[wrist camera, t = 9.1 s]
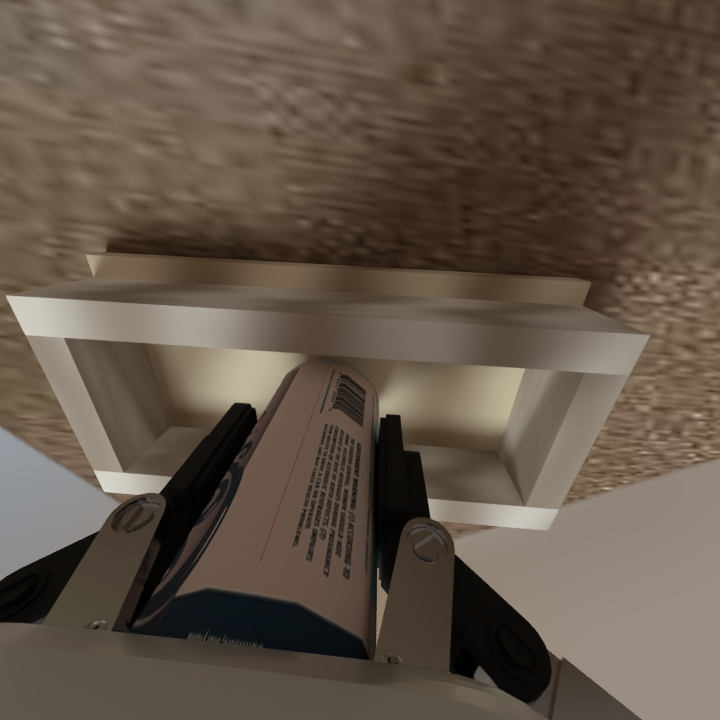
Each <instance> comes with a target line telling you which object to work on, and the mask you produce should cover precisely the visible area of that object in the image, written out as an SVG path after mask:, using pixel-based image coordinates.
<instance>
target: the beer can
mask: <svg viewBox="0 0 720 720" xmlns="http://www.w3.org/2000/svg"><path fill="white" fill-rule="evenodd" d="M378 438H379V399H378V396H377V392H376V390H375V388H374V386H373V384H372V383H371V382H370V380H369V379H368V378H367V377H366V376H365V375H363V374H362V373H361V372H360V371H359V370H357V369H356V368H354V367H352V366H350V365H348V364H346V363H342V362H339V361H334V360H313V361H309V362H305V363H303V364H301V365H298V366H296V367H295V368H294V369H292V370H291V371H290V372H288V373H287V374H286V376H285V377H284V378H283V380H282V382H281V384H280V386H279V387H278V389H277V391H276V392H275V394H274V396H273V397H272V399H271V401H270V402H269V404H268V406H267V407H266V409H265V410H264V412H263V414H262V415H261V417H260V419H259V420H258V422H257V424H256V425H255V427H254V428H253V430H252V432H251V433H250V435H249V437H248V438H247V440H246V442H245V443H244V445H243V447H242V448H241V450H240V451H239V453H238V455H237V456H236V458H235V460H234V461H233V463H232V465H231V466H230V468H229V469H228V471H227V473H226V474H225V476H224V478H223V479H222V481H221V483H220V484H219V486H218V488H217V489H216V491H215V492H214V494H213V496H212V497H211V499H210V501H209V502H208V504H207V506H206V507H205V509H204V511H203V512H202V514H201V515H200V517H199V519H198V520H197V522H196V524H195V525H194V527H193V529H192V530H191V532H190V533H189V535H188V537H187V538H186V540H185V542H184V543H183V545H182V547H181V548H180V550H179V552H178V553H177V555H176V556H175V558H174V560H173V561H172V563H171V565H170V566H169V568H168V570H167V571H166V573H165V574H164V576H163V578H162V579H161V581H160V583H159V584H158V586H157V588H156V589H155V591H154V593H153V594H152V596H151V597H150V599H149V601H148V602H147V604H146V606H145V607H144V609H143V611H142V612H141V614H140V615H139V617H138V619H137V620H136V622H135V624H134V625H133V627H132V629H131V630H130V632H129V633H132V634H141V635H151V636H160V637H169V638H178V639H187V640H196V641H205V642H214V643H223V644H232V645H241V646H250V647H259V648H268V649H277V650H285V651H294V652H302V653H311V654H319V655H328V656H336V657H345V658H353V659H362V660H370V661H373V660H374V656H375V651H376V610H377V608H376V607H377V543H376V521H377V465H378Z"/></svg>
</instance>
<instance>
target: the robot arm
mask: <svg viewBox="0 0 720 720" xmlns="http://www.w3.org/2000/svg"><path fill="white" fill-rule="evenodd" d="M257 422H258V421H257V414H256V409H255V408H253V407H252V406H251V404H249V403H234V404H233V405H232V406H231V407H230V409H229V410H228V411H227V412H226V414H225V415H224V416H223V417H222V419H221V420H220V421H219V422H218V424H217V425H216V426H215V427H214V429H213V430H212V431H211V432H210V434H209V435H207V436H206V437H205V438H204V439H203V440H202V441H201V442H200V443H199V445H198V446H197V447H196V448H195V450H194V451H193V452H192V453H191V455H190V456H189V457H188V458H187V460H186V461H185V462H184V463H183V464H182V466H181V467H180V468H179V469H178V471H177V472H176V473H175V474H174V476H173V477H172V478H171V479H170V481H169V482H168V483H167V484H166V486H165V487H164V488H163V489H162V490H161V492H160V493H159V494H157V493H145V494H140V495H137V496H135V497H133V498H130V499H129V500H127V501H125V502H124V503H122V504H121V505H119V506H118V507H117V508H116V509H115V510H114V511H113V512H112V513H111V514H110V516H109V517H108V518H107V520H106V521H105V523H104V524H103V526H102V528H101V529H100V531H98V532H96V533H94V534H92V535H90V536H88V537H85V538H83V539H81V540H79V541H77V542H75V543H73V544H71V545H69V546H67V547H64V548H62V549H60V550H58V551H56V552H54V553H52V554H50V555H48V556H46V557H44V558H41V559H39V560H37V561H35V562H33V563H31V564H29V565H27V566H25V567H23V568H21V569H19V570H17V571H15V572H14V573H12V574H10V575H8V576H6V577H5V578H4V579H3V580H1V581H0V720H641V719H640V718H639V717H638V716H636V715H635V714H634V713H633V712H631V711H630V710H629V709H627V708H626V707H625V706H624V705H623V704H621V703H620V702H619V701H618V700H616V699H615V698H614V697H612V696H611V695H610V694H609V693H608V692H606V691H605V690H604V689H603V688H601V687H600V686H599V685H598V684H596V683H595V682H594V681H592V680H591V679H590V678H589V677H587V676H586V675H585V674H584V673H583V672H581V671H580V670H579V669H578V668H576V667H575V666H574V665H572V664H571V663H570V662H569V661H567V660H566V659H565V658H564V657H563V658H562V659H561V660H560V659H558V658H557V657H556V656H555V655H554V654H552V653H551V652H550V651H549V650H547V649H546V646H545V644H544V642H543V640H542V639H541V637H540V636H539V634H538V632H537V631H536V630H535V629H534V628H533V627H532V626H531V624H530V623H529V622H528V621H527V620H526V619H525V618H523V617H522V616H521V615H520V614H519V613H518V612H517V611H516V610H515V609H514V608H513V607H512V606H510V605H509V604H508V603H507V602H506V601H505V600H504V599H503V598H502V597H501V596H499V594H498V593H496V592H495V591H494V590H493V589H492V588H491V587H490V586H489V585H488V584H487V583H486V582H484V581H483V580H482V579H481V578H480V577H479V576H478V575H477V574H476V573H475V572H474V571H473V570H471V569H470V568H469V567H468V566H467V565H466V564H465V563H464V562H463V561H462V560H461V559H460V558H459V557H457V556H456V555H455V549H454V542H453V540H452V537H451V535H450V534H449V532H448V531H447V530H446V528H445V527H444V526H442V525H441V524H440V523H439V522H437V521H435V520H433V519H431V517H430V510H429V504H428V498H427V492H426V486H425V480H424V474H423V467H422V461H421V456H420V452H418V451H406V450H404V448H403V437H402V427H401V416H400V415H393V414H386V418H383V417H381V418H380V427H379V438H378V465H377V521H376V543H377V568H379V580H381V587H382V588H383V589H384V590H385V592H386V593H387V594H388V597H387V601H386V606H385V611H384V615H383V620H382V625H381V629H380V633H379V638H378V642H377V647H376V651H375V656H374V660H373V661H370V660H362V659H353V658H345V657H336V656H328V655H319V654H311V653H302V652H294V651H285V650H277V649H268V648H259V647H250V646H241V645H232V644H223V643H214V642H205V641H196V640H187V639H178V638H169V637H160V636H151V635H141V634H132V633H129V632H130V630H131V629H132V627H133V625H134V624H135V622H136V620H137V619H138V617H139V615H140V614H141V612H142V611H143V609H144V607H145V606H146V604H147V602H148V601H149V599H150V597H151V596H152V594H153V593H154V591H155V589H156V588H157V586H158V584H159V583H160V581H161V579H162V578H163V576H164V574H165V573H166V571H167V570H168V568H169V566H170V565H171V563H172V561H173V560H174V558H175V556H176V555H177V553H178V552H179V550H180V548H181V547H182V545H183V543H184V542H185V540H186V538H187V537H188V535H189V533H190V532H191V530H192V529H193V527H194V525H195V524H196V522H197V520H198V519H199V517H200V515H201V514H202V512H203V511H204V509H205V507H206V506H207V504H208V502H209V501H210V499H211V497H212V496H213V494H214V492H215V491H216V489H217V488H218V486H219V484H220V483H221V481H222V479H223V478H224V476H225V474H226V473H227V471H228V469H229V468H230V466H231V465H232V463H233V461H234V460H235V458H236V456H237V455H238V453H239V451H240V450H241V448H242V447H243V445H244V443H245V442H246V440H247V438H248V437H249V435H250V433H251V432H252V430H253V428H254V427H255V425H256V424H257ZM449 672H450V673H449Z"/></svg>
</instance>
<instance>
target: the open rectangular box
mask: <svg viewBox="0 0 720 720" xmlns="http://www.w3.org/2000/svg"><path fill="white" fill-rule="evenodd" d="M86 257H87V260H88V262H89V265H90V268H91V271H92V273H93V276H94V277H93V278H89V279H84V280H79V281H74V282H69V283H64V284H59V285H54V286H49V287H44V288H40V289H35V290H30V291H25V292H20V293H15V294H10V295H5V296H6V297H7V299H8V301H9V303H10V305H11V307H12V309H13V311H14V313H15V315H16V317H17V319H18V321H19V323H20V325H21V327H22V329H23V331H24V333H25V335H26V337H27V339H28V341H29V343H30V345H31V347H32V349H33V351H34V353H35V355H36V357H37V359H38V361H39V363H40V365H41V367H42V369H43V371H44V373H45V375H46V377H47V379H48V381H49V383H50V385H51V387H52V389H53V391H54V393H55V395H56V397H57V399H58V401H59V403H60V405H61V407H62V409H63V411H64V413H65V415H66V417H67V419H68V421H69V423H70V425H71V427H72V429H73V430H74V432H75V434H76V436H77V438H78V440H79V442H80V444H81V446H82V448H83V450H84V452H85V454H86V456H87V458H88V460H89V462H90V464H91V466H92V468H93V470H94V472H95V474H96V476H97V478H98V480H99V482H100V484H101V486H102V488H103V490H104V492H112V493H124V494H135V495H140V494H145V493H157V494H159V493H160V492H161V490H162V489H163V488H164V487H165V486H166V484H167V483H168V482H169V481H170V479H171V478H172V477H173V476H174V474H175V473H176V472H177V471H178V469H179V468H180V467H181V466H182V464H183V463H184V462H185V461H186V460H187V458H188V457H189V456H190V455H191V453H192V452H193V451H194V450H195V448H196V447H197V446H198V445H199V443H200V442H201V441H202V440H203V439H204V438H205V437H206V436H207V435H209V434H210V432H211V431H212V430H213V429H214V427H215V426H216V425H217V424H218V422H219V421H220V420H221V419H222V417H223V416H224V415H225V414H226V412H227V411H228V410H229V409H230V407H231V406H232V405H233V404H234V403H249V404H251V406H252V407H253V408H255V409H256V414H257V421H258V420H259V419H260V417H261V415H262V414H263V412H264V410H265V409H266V407H267V406H268V404H269V402H270V401H271V399H272V397H273V396H274V394H275V392H276V391H277V389H278V387H279V386H280V384H281V382H282V380H283V378H284V377H285V376H286V374H287V373H288V372H290V371H291V370H292V369H294V368H295V367H296V366H298V365H301V364H303V363H305V362H309V361H313V360H334V361H339V362H342V363H346V364H348V365H350V366H352V367H354V368H356V369H357V370H359V371H360V372H361V373H362V374H363V375H365V376H366V377H367V378H368V379H369V380H370V382H371V383H372V384H373V386H374V388H375V390H376V392H377V396H378V399H379V427H380V418H381V417H383V418H386V414H393V415H400V416H401V427H402V437H403V448H404V450H406V451H418V452H420V456H421V461H422V467H423V474H424V480H425V486H426V492H427V498H428V504H429V510H430V517H431V519H433V520H435V521H444V522H456V523H467V524H479V525H490V526H501V527H513V528H525V529H536V530H548V529H549V527H550V525H551V524H552V522H553V520H554V518H555V516H556V514H557V512H558V510H559V508H560V506H561V505H562V503H563V501H564V499H565V497H566V495H567V493H568V491H569V489H570V487H571V486H572V484H573V482H574V480H575V478H576V476H577V474H578V472H579V470H580V468H581V466H582V465H583V463H584V461H585V459H586V457H587V455H588V453H589V451H590V449H591V447H592V445H593V444H594V442H595V440H596V438H597V436H598V434H599V432H600V430H601V428H602V426H603V424H604V423H605V421H606V419H607V417H608V415H609V413H610V411H611V409H612V407H613V405H614V404H615V402H616V400H617V398H618V396H619V394H620V392H621V390H622V388H623V386H624V384H625V383H626V381H627V379H628V377H629V375H630V373H631V371H632V369H633V367H634V365H635V363H636V362H637V360H638V358H639V356H640V354H641V352H642V350H643V348H644V346H645V344H646V343H647V341H648V339H649V337H650V335H649V334H646V333H644V332H642V331H639V330H637V329H635V328H632V327H630V326H628V325H625V324H623V323H621V322H618V321H616V320H614V319H612V318H609V317H607V316H605V315H602V314H600V313H598V312H595V311H593V310H591V309H588V308H586V307H584V306H583V303H584V301H585V298H586V296H587V293H588V291H589V288H590V285H591V282H588V281H585V280H581V279H578V278H565V277H547V276H529V275H511V274H492V273H474V272H456V271H438V270H420V269H402V268H383V267H365V266H347V265H329V264H311V263H292V262H274V261H256V260H238V259H220V258H202V257H183V256H165V255H147V254H129V253H111V252H102V253H94V254H86Z"/></svg>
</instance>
